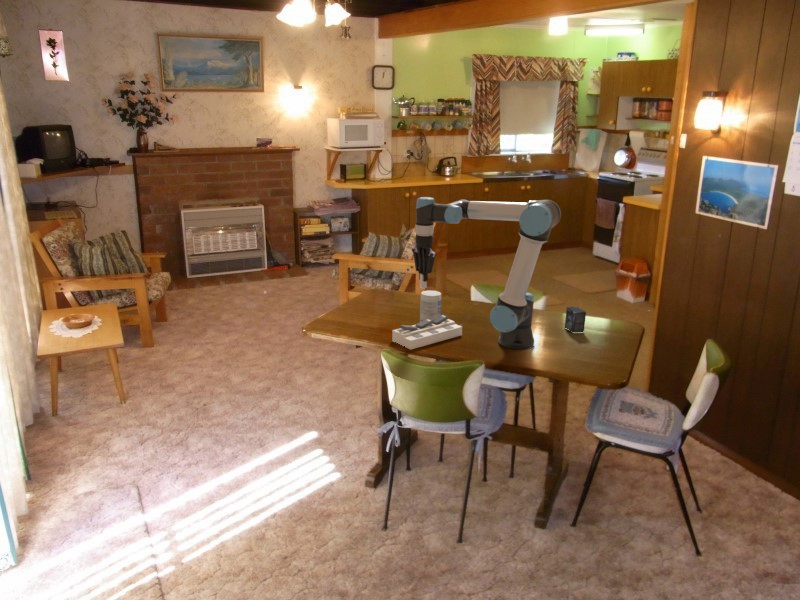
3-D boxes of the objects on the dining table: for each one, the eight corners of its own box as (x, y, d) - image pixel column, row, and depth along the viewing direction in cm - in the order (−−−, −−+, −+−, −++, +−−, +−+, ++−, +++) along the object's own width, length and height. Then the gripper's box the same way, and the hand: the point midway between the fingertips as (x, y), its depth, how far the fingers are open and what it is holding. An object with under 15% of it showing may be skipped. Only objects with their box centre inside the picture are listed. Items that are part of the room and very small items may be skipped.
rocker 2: (432, 323, 302) (432, 320, 302) (421, 329, 298) (420, 326, 298) (428, 321, 304) (427, 318, 304) (416, 327, 301) (415, 324, 300)
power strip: (471, 332, 310) (472, 321, 308) (410, 349, 287) (410, 338, 286) (452, 325, 318) (453, 314, 317) (392, 341, 296) (392, 330, 295)
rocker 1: (416, 330, 297) (417, 327, 297) (404, 330, 292) (405, 326, 292) (411, 328, 299) (412, 325, 299) (399, 328, 294) (400, 324, 294)
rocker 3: (447, 319, 308) (447, 316, 307) (436, 325, 304) (436, 322, 303) (442, 317, 310) (442, 314, 309) (431, 323, 306) (431, 320, 306)
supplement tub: (442, 326, 316) (443, 296, 312) (421, 327, 315) (422, 296, 310) (438, 319, 325) (439, 289, 321) (418, 320, 324) (419, 290, 319)
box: (564, 328, 318) (566, 306, 315) (574, 327, 320) (577, 306, 316) (572, 334, 311) (575, 312, 308) (584, 333, 312) (586, 311, 309)
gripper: (441, 235, 289) (439, 289, 296) (420, 230, 298) (419, 283, 305) (428, 237, 284) (427, 293, 291) (407, 232, 294) (406, 286, 300)
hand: (423, 288), depth 298 cm, fingers closed
